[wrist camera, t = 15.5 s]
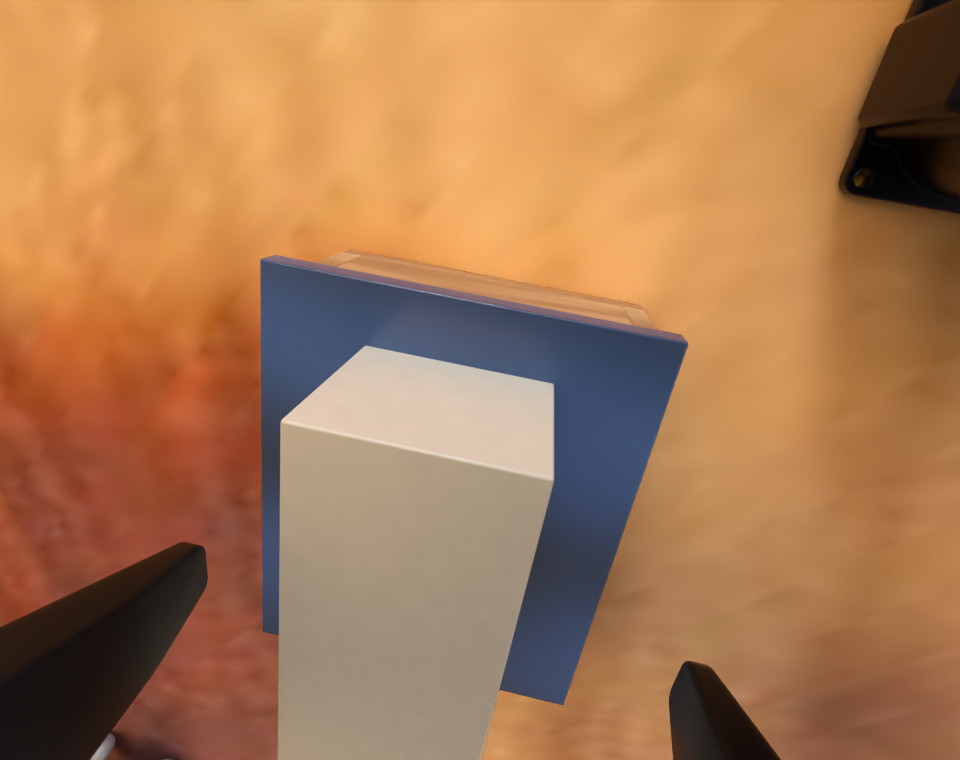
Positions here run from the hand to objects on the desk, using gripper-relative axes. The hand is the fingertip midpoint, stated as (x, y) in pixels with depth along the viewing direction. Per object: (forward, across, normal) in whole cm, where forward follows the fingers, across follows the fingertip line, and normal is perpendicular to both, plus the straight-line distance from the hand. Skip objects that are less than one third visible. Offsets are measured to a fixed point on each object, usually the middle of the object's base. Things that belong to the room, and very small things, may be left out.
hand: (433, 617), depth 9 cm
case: (+6, +1, +3) cm, 7 cm away
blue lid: (+7, +1, +3) cm, 8 cm away
